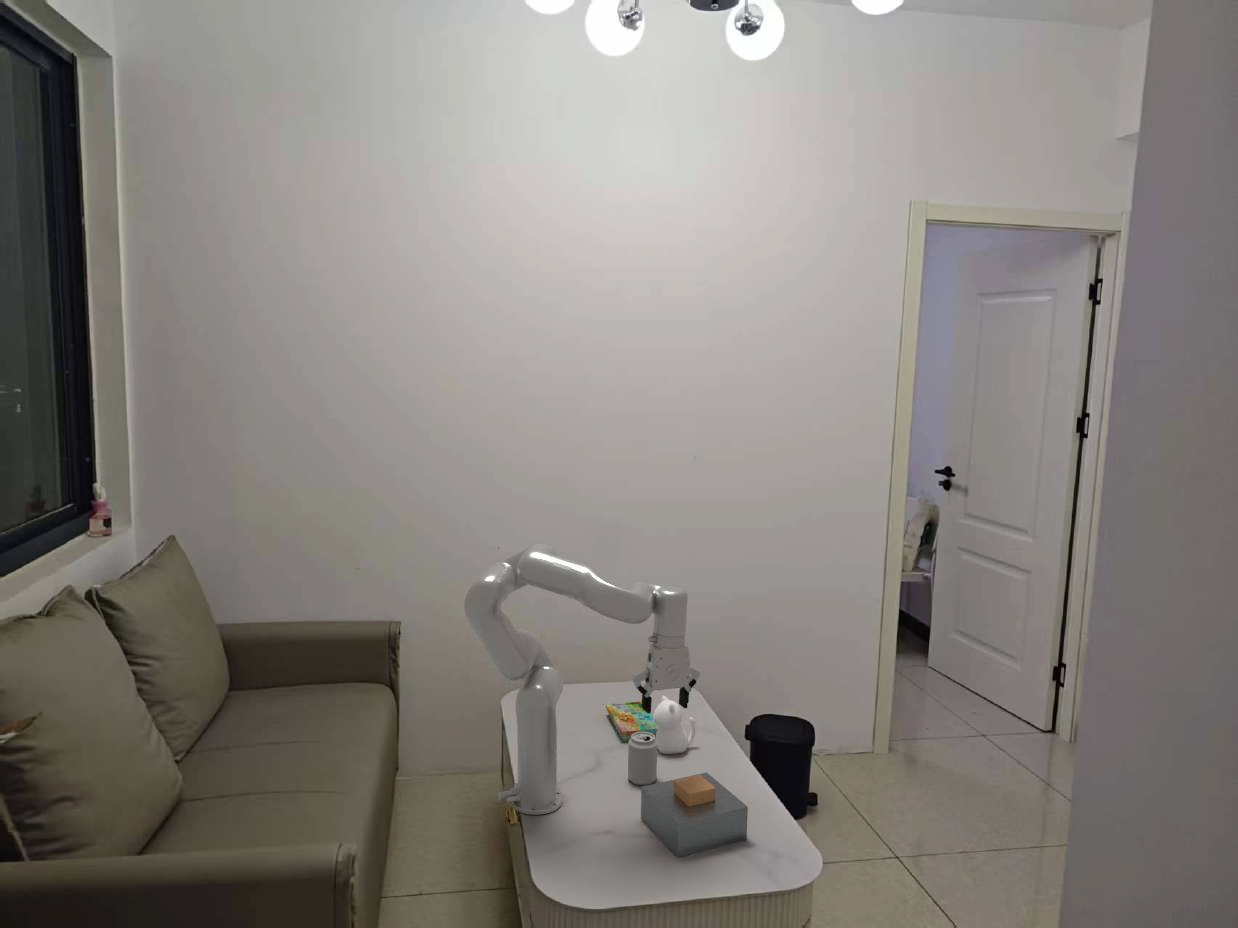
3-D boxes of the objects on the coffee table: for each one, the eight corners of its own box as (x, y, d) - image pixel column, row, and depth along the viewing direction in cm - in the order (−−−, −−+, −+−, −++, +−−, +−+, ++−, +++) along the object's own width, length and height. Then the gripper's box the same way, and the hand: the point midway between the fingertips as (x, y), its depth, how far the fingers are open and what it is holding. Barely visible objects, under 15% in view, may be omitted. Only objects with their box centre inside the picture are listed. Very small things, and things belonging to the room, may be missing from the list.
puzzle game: (621, 728, 252) (605, 701, 271) (621, 744, 252) (605, 716, 271) (661, 725, 254) (643, 698, 274) (660, 740, 255) (642, 712, 274)
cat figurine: (647, 746, 251) (647, 695, 249) (688, 739, 255) (688, 689, 253) (659, 760, 242) (659, 707, 240) (701, 753, 247) (701, 701, 245)
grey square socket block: (677, 857, 196) (678, 823, 195) (640, 818, 212) (641, 786, 211) (746, 839, 204) (747, 806, 203) (705, 802, 220) (706, 772, 219)
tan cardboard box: (688, 831, 203) (689, 794, 202) (673, 816, 209) (674, 780, 208) (714, 824, 206) (715, 787, 205) (698, 810, 212) (700, 774, 211)
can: (654, 788, 227) (655, 743, 225) (625, 784, 228) (626, 740, 227) (658, 774, 234) (659, 731, 232) (630, 771, 235) (631, 728, 234)
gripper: (642, 648, 202) (638, 719, 205) (709, 641, 209) (704, 710, 212) (629, 637, 209) (625, 706, 212) (693, 631, 216) (689, 698, 219)
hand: (664, 708), depth 212 cm, fingers open, 9 cm apart
